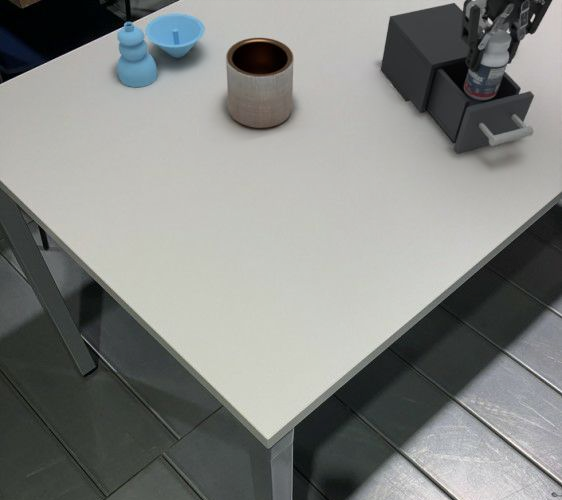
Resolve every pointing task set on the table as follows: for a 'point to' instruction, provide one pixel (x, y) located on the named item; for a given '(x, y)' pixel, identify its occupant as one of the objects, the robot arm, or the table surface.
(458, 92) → the pull-out drawer
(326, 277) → the table surface
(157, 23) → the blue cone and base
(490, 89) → the pill bottle
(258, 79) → the planter
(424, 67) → the small drawer cabinet
